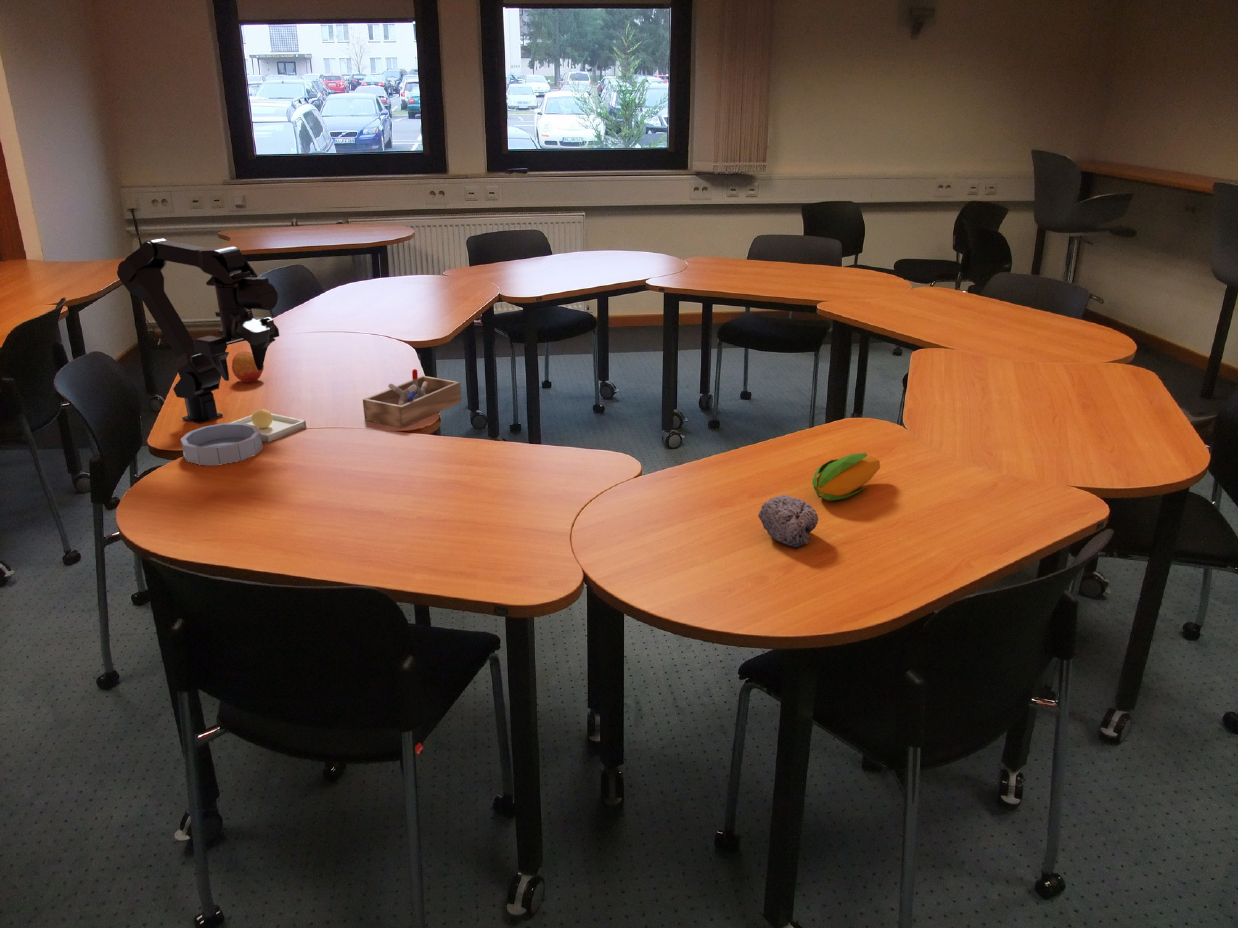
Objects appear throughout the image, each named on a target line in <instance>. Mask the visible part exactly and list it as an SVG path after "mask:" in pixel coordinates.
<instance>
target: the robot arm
mask: <svg viewBox="0 0 1238 928" xmlns="http://www.w3.org/2000/svg"><path fill="white" fill-rule="evenodd" d="M167 262H171V263H175V264H182V265H186V266H192V267H196V268H198V269H200V270H201V271H202V272H203V273H205V274H206V275H209V276H211V277H210V278H209V279H208V280H207V281H206V283H205V284H206V286H209V287H210V286H211V287H212V286H213V287H214V289H215V294H216V301H217V306H218V307H217V309H218V310H217V311H214V313H215V317H219V319H220V325H221V329H219V330H218V331H217V332H218V335H220V336H221V337H220V336H213V335H206V336H202V337H199V338H196V339H195V340H194V339H193V337H192V335H191V333H190V332H189V330H188V329H187V327H186V325H185V323H184V321H183V320H182V318H181V317H180V315H179V313H178V312H177V311H176V308H175V307H174V305H173V303H172V301H171V300H170V298H169V297H168V295H167V293H166V291H165V276H164V274H163V273H162V270H163V269H164V268H165V267H166V265H167ZM116 273H117V277H118V279H119V280H120V282H121V283H122V284H123V286H124V287H125V288H126V290H127V291H128V292H129V293H130V294H132V295H134V296H135V297H136V298H138V299H140V300H141V301H142V303H144V305H145V307H146V309H147V310H148V312H149V313H150V315H151V317H152V319H153V320H154V322H155V324H156V325H157V326H158V328H159V330H160V331H161V333H162V335H163V337H164V339H165V340H166V342H167V343H168V345H169V346H170V348H171V349H172V352H173V353H174V355H175V356H176V371H177V374H178V376H179V380H178V381H177V383H176V384H175V386H174V387H173V393H174V395H175V396H176V398H180V399H181V398H182V399H184V404H185V408H186V413H187V415H185V416H183V417H181V418H182V420H183V421H186V422H191V423H195V424H204V423H208V422H211V421H212V420H213V421H214V420H216V419H218V418H221V417H223V416H224V415H223V413H219V412H218V411H217V404H216V400H215V396H214V392H213V391H216V390H219V389H220V384H221V379H223V380H224V381H225V382H229V381H230V374H229V368H228V362H227V358H228V357H229V354H230V352H229V351H227V349H228V346H230V345H232V344H237V343H240V342H243V341H246V342H247V343H248V344H249V346H250V351H251V353H252V354H253V358H254V361H255V364H256V367H257V369H258V370H260V371H261V370H262V368H263V365H264V363H265V359H266V354H267V350H268V347H269V346H270V345H271V344H272V343H273V342H276V338H279V337H280V330H279V327H278V326H277V325H276V324H275V321H274V318H272V317H270V316H267V317H264V318H262V319H255V318H254V314H253V312H252V310H251V309H253V310H263V311H272V310H273V309H274V308H276V306H277V304H278V299H279V297H278V296H279V294H278V291H277V289H276V288H275V286H274V285H273V284H272V283H270V281H269V278H268V277H258V274H257V273H256V271H255V270H254V268H252V266H251V265H250V263H249V262H248V261H247V259H246V258H245V256H244V255H243V253H242V252H241V250H240V249H239V248H238V247H236V246H231V245H229V246H228V245H227V246H215V247H212V246H211V247H203V246H200V245H193V244H189V243H181V242H178V241H177V242H176V241H172V240H168V239H165V238H154V239H149V240H148V239H147V240H145V241H144V242H143V243H142V244H141V245H140V247H139V248H138V249H136V250H134V251H133V252H132V253H131V254H130V255H128V256H127V257H126V258H125V259H124V260H122V261H120V262H119V263H118V266H117V270H116Z"/></svg>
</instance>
